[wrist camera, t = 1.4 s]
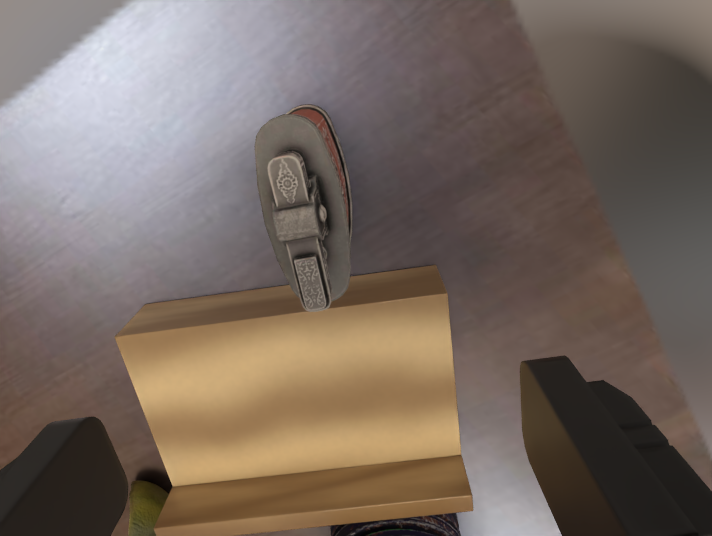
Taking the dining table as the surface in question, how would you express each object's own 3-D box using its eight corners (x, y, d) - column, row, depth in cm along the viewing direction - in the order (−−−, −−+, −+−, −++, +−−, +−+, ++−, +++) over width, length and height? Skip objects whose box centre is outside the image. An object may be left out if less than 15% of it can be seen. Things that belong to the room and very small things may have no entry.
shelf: (144, 303, 29) (84, 368, 23) (436, 264, 28) (458, 320, 22) (197, 454, 34) (159, 543, 27) (451, 425, 33) (473, 511, 26)
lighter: (271, 110, 25) (220, 131, 16) (334, 98, 25) (319, 112, 16) (305, 252, 28) (279, 339, 19) (361, 242, 28) (363, 325, 19)
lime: (149, 522, 36) (118, 587, 32) (112, 478, 35) (73, 540, 30) (199, 504, 36) (175, 568, 31) (163, 458, 34) (132, 519, 29)
